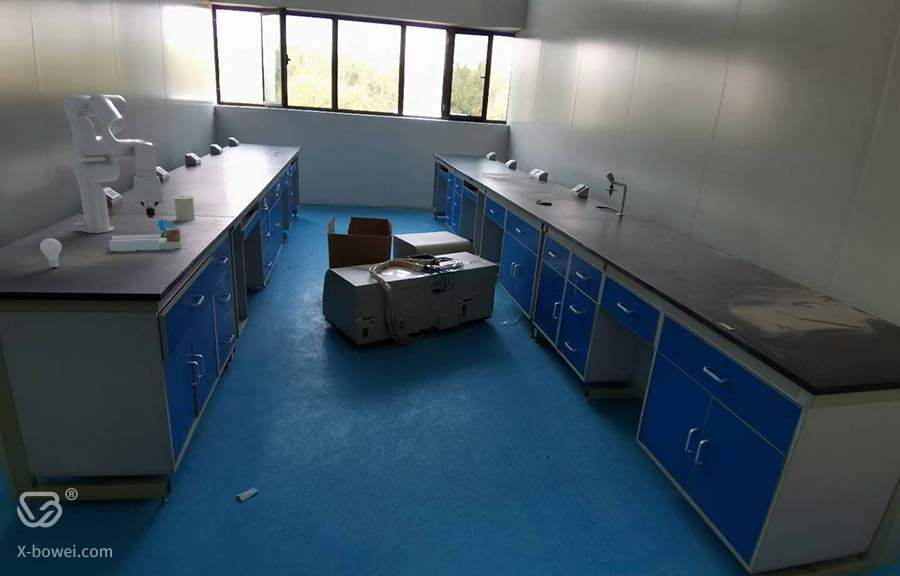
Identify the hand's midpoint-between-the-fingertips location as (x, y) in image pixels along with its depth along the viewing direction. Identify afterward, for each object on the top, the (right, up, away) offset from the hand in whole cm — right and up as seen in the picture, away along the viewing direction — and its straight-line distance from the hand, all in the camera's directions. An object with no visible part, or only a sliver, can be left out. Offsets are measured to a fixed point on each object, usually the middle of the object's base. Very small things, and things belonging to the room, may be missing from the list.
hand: (151, 217), depth 226 cm
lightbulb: (-19, -23, -29) cm, 41 cm away
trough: (-3, -13, +3) cm, 13 cm away
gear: (-4, -6, +23) cm, 24 cm away
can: (-13, +6, +57) cm, 59 cm away
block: (+7, -9, +5) cm, 13 cm away
